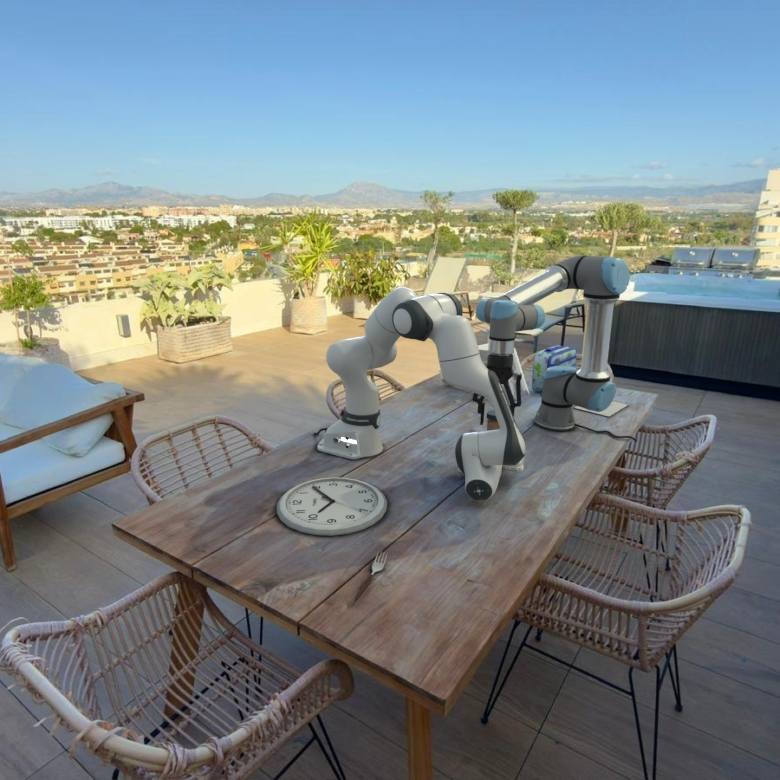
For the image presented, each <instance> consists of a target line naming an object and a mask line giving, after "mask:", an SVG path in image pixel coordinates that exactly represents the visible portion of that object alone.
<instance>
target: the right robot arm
mask: <svg viewBox="0 0 780 780" xmlns="http://www.w3.org/2000/svg"><path fill="white" fill-rule="evenodd" d="M630 275H631V274H630V269H629V266H628V264H627V263H626V261H625V260H624V259H622V258H621V257H616V256H615V257H614V256H607V255H605V256H603V255H584V254H582V255H581V254H580V255H575V256H571V257H568V258H565V259H563V260H561V261H558V262H556V263H554V264H552V265H551V266H549V267H547V269H546V270H545V272H543V273H541V274H540V275H538V276H536V277H534V278H532V279H530V280H529V281H527V282H524V283H522V284H521V285H518V286H516V287H515V288H513V289H511V290H509V291H507V292H506V293H504V294H502V295H500V296H498V297H496V298H494V299H491V298H483V299H481V300H480V301H478V303H477V305H476V307H475V315H476V317H477V319H478V320H479V321H480V322H484V323H486V324H489V334H488V351H489V353H488V357H487V367H486V368H487V369H488V370H491V371H494V372H495V374H496V375H497V377H498V379H499V381H500V383H501V385H503V389H504V391H505V394H506V398H507V401H508V403H509V406H510V409H511V411H512V414H513V417H514V418H515V409H516V408H517V407H521V406H522V386H521V382H520V381H521V378H522V373H519V374H518V373H517V372H515V371H514V369H513V365H514V360H513V354H512V353H513V352H514V348H515V344H516V343H515V342H516V333H518V332H524V331H533V330H536V329H539V328H541V327H542V326H543V325H544V324H545V321H546V312H545V310H544V308H543V307H542V306H541V305H539V304H536V303H538V302H539V301H541V300H543V299H545V298H547V297H548V296H550V295H553V294H555V293H561V292H563V291H566V290H580V291H583V293H582V298H583V299H584V300H585V301H586V309H585V310H586V311H585V321H584V330H583V331H584V332H583V343H582V352H581V353H582V354H581V363H580V368H579V369H578V368H577V367H576V366H575V367H571V366H555V367H549V368H547V369H546V370H545V375H544V378H543V379H544V381H543V391H542V394H541V402H540V405H539V407H538V410H537V411H536V413H535V417H534V424H535V425H536V426H537V427H539V428H542V429H544V430H549V431H556V432H567V431H572V430H574V429H575V428H576V427H578V428H582V429H584V430H588V431H590V432H593V433H597V434H600V433H605V434H606V433H607V434H609V435H610V436H611V437H614V438H615V439H631V440H633V441H634V442H636V443H637V442H638V440H637V438H635V437H633V436H631V435H616V434H614V433H612V432H611V431H609V430H606V429H605V430H595V429H592V428H590V427H587V426H584V425H582V424H578V423H576V418H575V417H576V416H575V413H574V407H573V406H575V407H576V406H579V407H582V408H585V409H588V410H592V411H596V412H601V411H603V410H605V409H606V408H608V406H609V405H610V404H611V403H612V401H614V400H615V399H614V398H615V396H616V392H617V386H616V384H615V383H614V382H613V381H611V373H610V372H609V371H608V370H607V368H608V360H609V352H610V343H611V333H612V325H613V315H614V305H615V303H616V302H617V301H618V300H619V299H620V298H621V295H622V294H623V293H625V292H626V290H627V289H628V287H629V284H630ZM512 377H513V379H514V381H515V391H516V397H517V398H516V401H515V397H514V396H513V395H512V392H511V389H510V385H509V381H508V380H509V379H510V378H512ZM485 399H486V398H485V397H484V396H482V395H480V397H479V394H476V393H472V399H471V401H472V402H474V403H476V404H477V414H479V415H480V422H479V425H480V426H483V425H484V422H485V421H484V420H485V409H486V406H485V405H486V402H484V400H485Z"/></svg>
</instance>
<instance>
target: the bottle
mask: <svg viewBox="0 0 780 780" xmlns="http://www.w3.org/2000/svg"><path fill="white" fill-rule="evenodd" d="M497 429H500V426H499V423H498V421H492V420H489V419H487V424H486V431H489V430H497Z"/></svg>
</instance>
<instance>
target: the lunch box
mask: <svg viewBox="0 0 780 780" xmlns="http://www.w3.org/2000/svg"><path fill="white" fill-rule="evenodd" d="M576 362H577V348H576V347H571V346H565V345H553V346H550V347H546V348H545V349H542V350H539V351H538V352H537V353H536V354H535V356H534V358H533V365H532V376H531V377H532V378H531V390H532V391H533V392H537V393H542V391H543V381H544V379H543V378H544V375H545V370H546V369H547V368H549V367H555V366H571V367H575V368H576V364H577V363H576Z"/></svg>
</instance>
